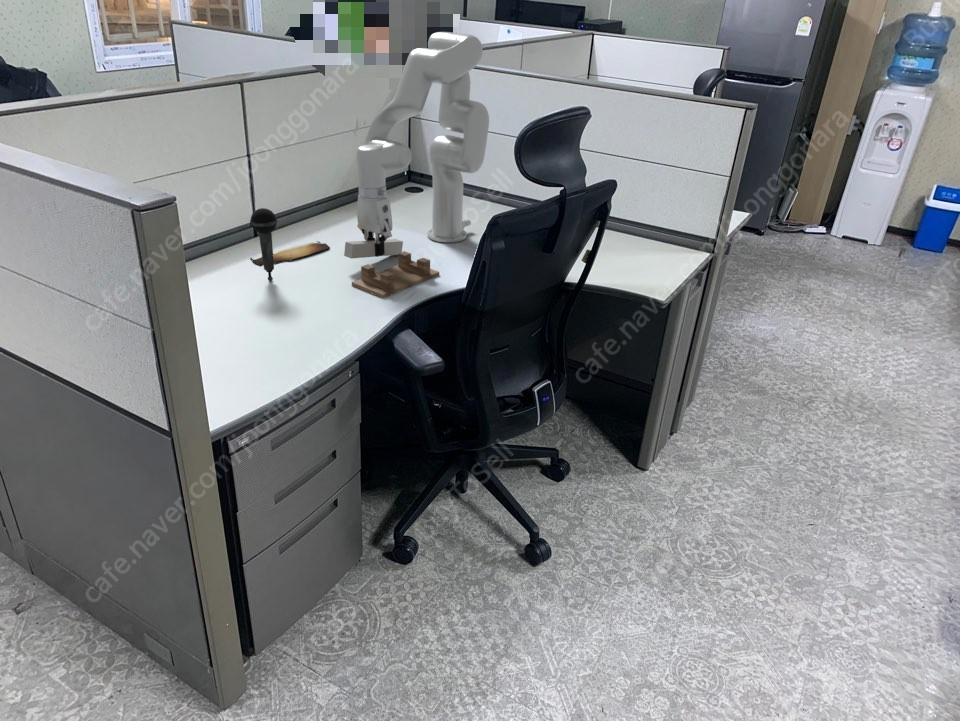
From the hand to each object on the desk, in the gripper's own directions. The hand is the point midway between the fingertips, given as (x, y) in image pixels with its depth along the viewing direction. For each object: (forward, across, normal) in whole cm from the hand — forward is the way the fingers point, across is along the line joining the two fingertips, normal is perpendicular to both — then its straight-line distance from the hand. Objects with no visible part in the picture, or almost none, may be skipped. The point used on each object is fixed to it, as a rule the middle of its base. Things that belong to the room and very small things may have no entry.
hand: (375, 253), depth 208 cm
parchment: (+3, +22, +13) cm, 26 cm away
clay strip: (0, 0, +1) cm, 1 cm away
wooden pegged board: (+3, -14, +6) cm, 15 cm away
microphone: (+2, +10, +30) cm, 31 cm away
